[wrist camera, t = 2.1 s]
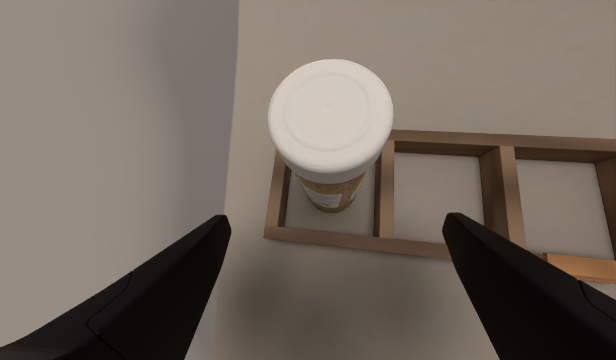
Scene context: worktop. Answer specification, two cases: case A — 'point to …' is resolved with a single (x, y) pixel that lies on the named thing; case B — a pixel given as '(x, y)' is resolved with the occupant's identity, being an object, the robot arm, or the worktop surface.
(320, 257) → the worktop surface
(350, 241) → the rack
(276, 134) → the sprinkles bottle
